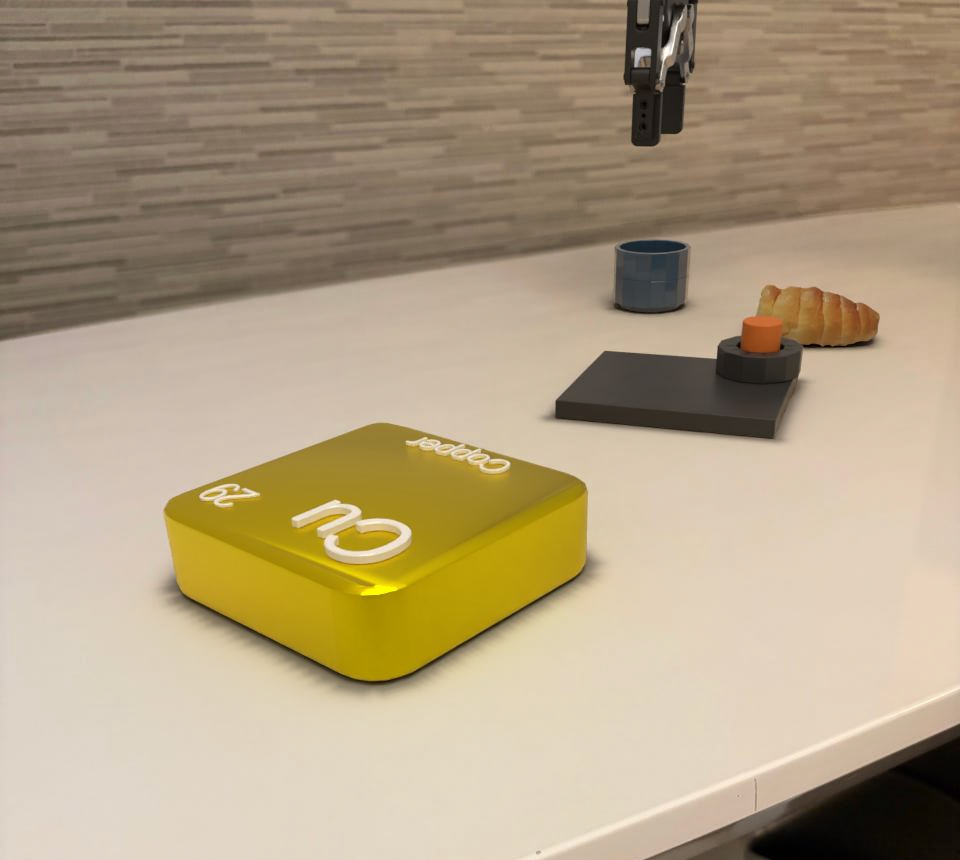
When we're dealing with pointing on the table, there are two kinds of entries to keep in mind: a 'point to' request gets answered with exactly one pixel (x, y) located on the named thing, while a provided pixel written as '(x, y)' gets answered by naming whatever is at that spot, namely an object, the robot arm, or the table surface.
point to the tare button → (761, 334)
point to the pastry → (818, 316)
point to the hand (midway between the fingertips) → (657, 139)
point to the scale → (688, 390)
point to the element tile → (378, 546)
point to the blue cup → (651, 275)
